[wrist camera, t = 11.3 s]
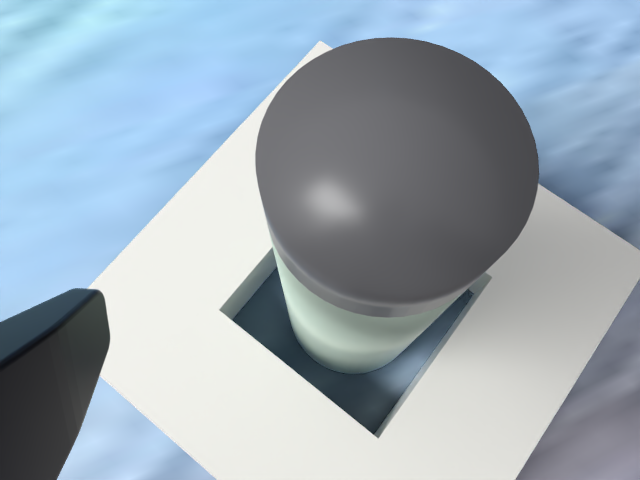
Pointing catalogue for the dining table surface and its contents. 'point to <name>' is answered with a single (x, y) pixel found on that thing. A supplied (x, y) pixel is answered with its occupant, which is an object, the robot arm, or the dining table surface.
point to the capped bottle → (389, 192)
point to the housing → (303, 398)
